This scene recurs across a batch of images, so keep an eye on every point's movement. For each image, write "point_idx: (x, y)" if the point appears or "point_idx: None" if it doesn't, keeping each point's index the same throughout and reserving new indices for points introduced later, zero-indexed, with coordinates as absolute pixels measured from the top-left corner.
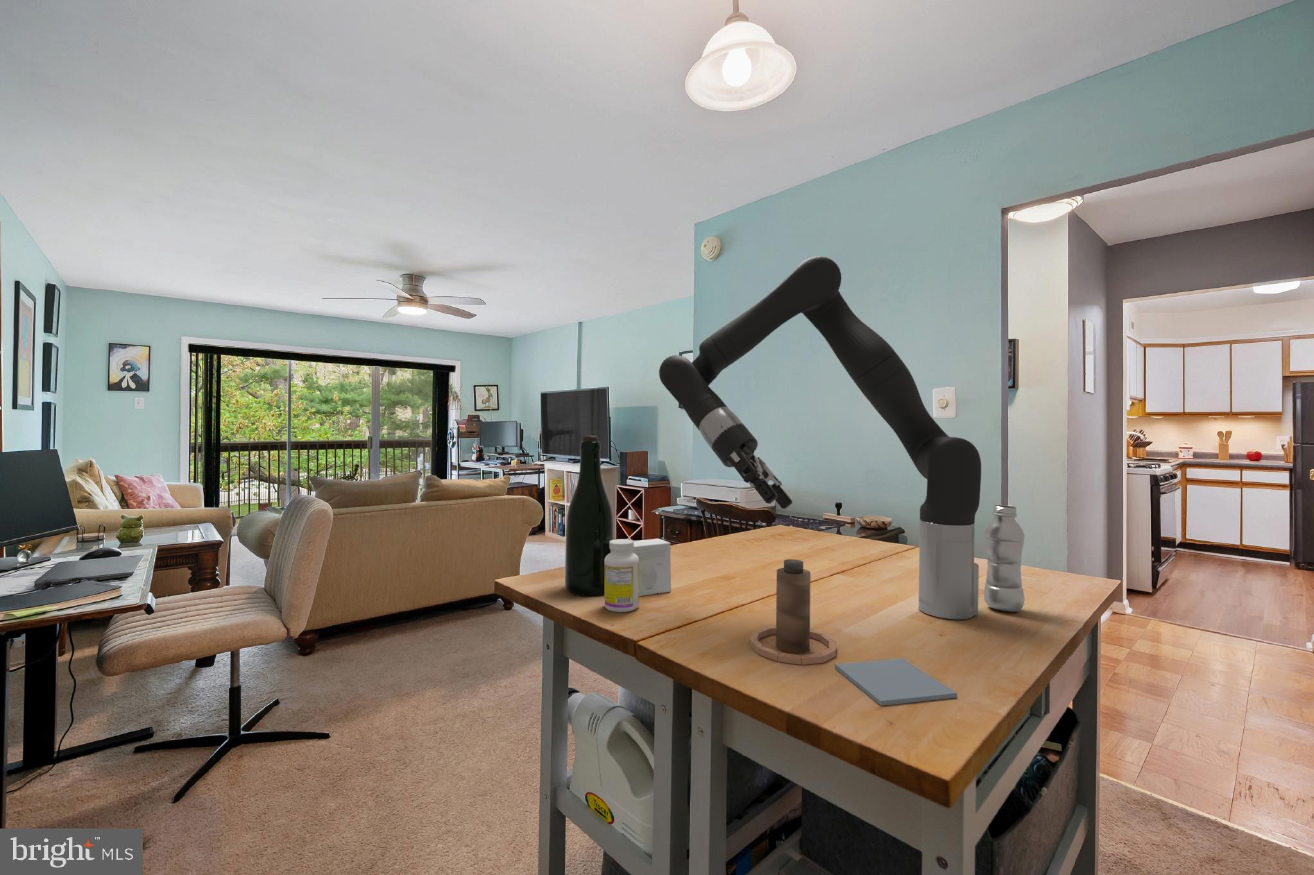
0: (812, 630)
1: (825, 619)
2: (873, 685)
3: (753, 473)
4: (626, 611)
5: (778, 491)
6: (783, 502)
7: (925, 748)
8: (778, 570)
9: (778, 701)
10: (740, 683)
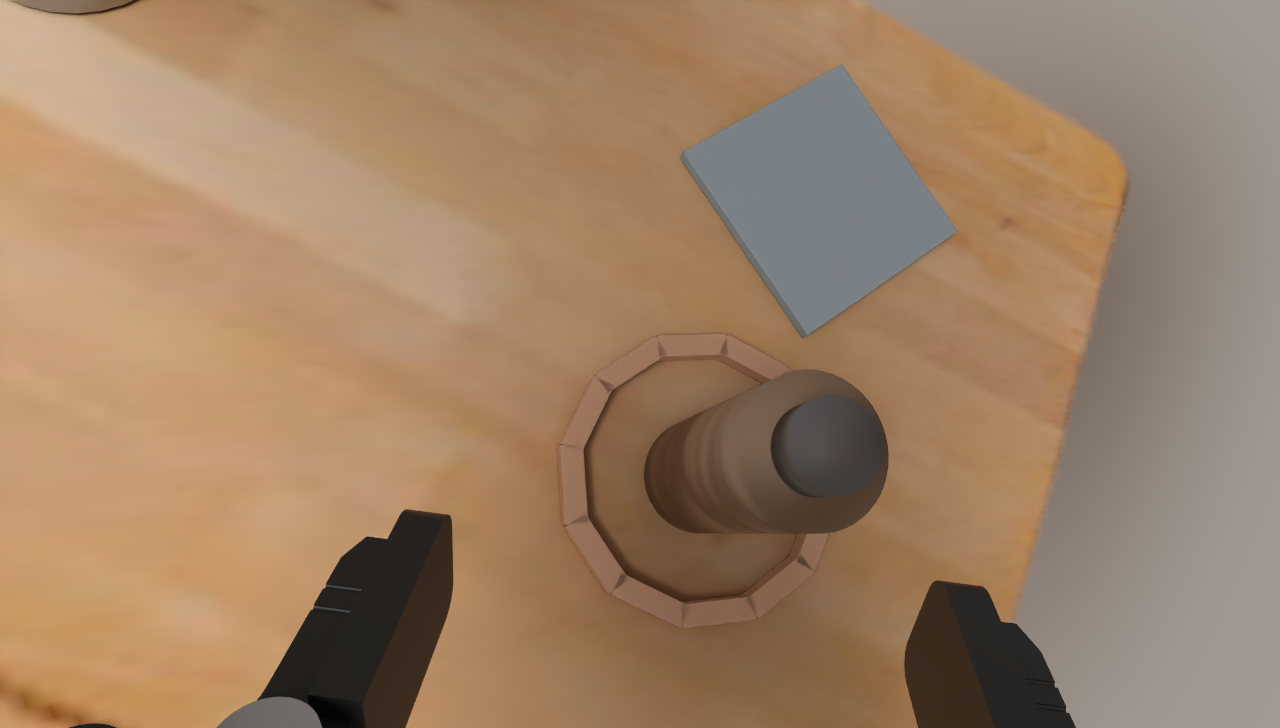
0: (580, 419)
1: (356, 390)
2: (889, 241)
3: None
4: None
5: (387, 699)
6: (438, 605)
7: (1063, 172)
8: (825, 524)
9: (1036, 457)
10: (999, 570)
